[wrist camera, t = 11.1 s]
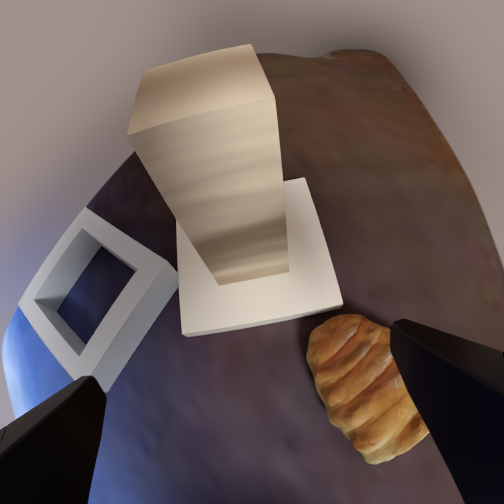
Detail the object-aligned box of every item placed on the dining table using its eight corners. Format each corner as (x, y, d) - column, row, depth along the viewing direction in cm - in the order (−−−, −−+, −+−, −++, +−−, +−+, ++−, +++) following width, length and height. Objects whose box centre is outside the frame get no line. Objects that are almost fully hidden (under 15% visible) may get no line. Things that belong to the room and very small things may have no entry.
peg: (289, 272, 19) (274, 97, 8) (219, 286, 19) (126, 135, 8) (275, 213, 21) (250, 44, 10) (212, 226, 21) (143, 71, 10)
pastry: (277, 362, 18) (274, 354, 14) (357, 295, 19) (370, 271, 15) (371, 467, 13) (388, 482, 10) (445, 392, 15) (475, 388, 11)
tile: (340, 308, 18) (343, 303, 17) (187, 337, 19) (182, 334, 18) (304, 185, 23) (304, 177, 22) (180, 211, 23) (176, 204, 22)
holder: (183, 279, 21) (167, 261, 18) (107, 392, 17) (82, 388, 15) (102, 225, 24) (84, 206, 21) (41, 315, 21) (18, 304, 18)
